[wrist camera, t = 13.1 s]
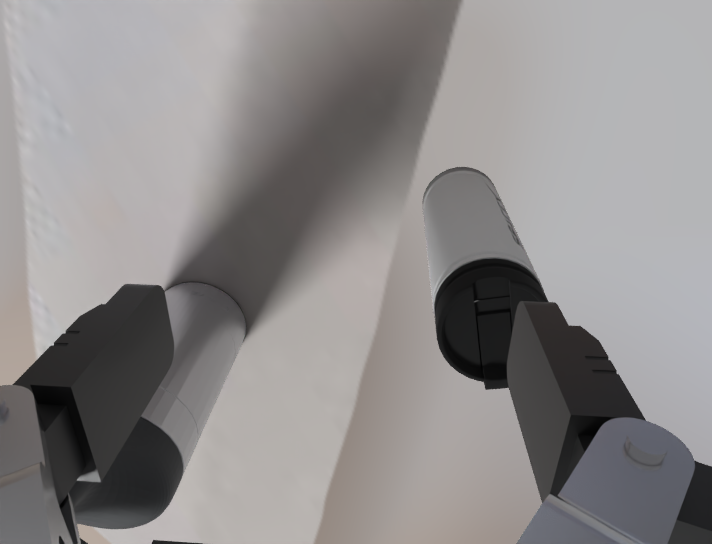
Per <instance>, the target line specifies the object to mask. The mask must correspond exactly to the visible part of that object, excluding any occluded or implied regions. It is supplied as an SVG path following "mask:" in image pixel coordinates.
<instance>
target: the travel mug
mask: <svg viewBox="0 0 712 544" xmlns="http://www.w3.org/2000/svg"><path fill="white" fill-rule="evenodd" d="M423 214H424V224H425V235H426V245H427V255H428V264H429V274H430V284H431V294H432V304H433V313H434V317H435V324H436V333H437V340H438V344H439V348H440V350H441V352H442V354H443V356H444V358H445V359H446V361H447V362H448V363H449V364H450V366H452V367H453V368H454V369H455V370H457V371H458V372H459V373H461V374H463V375H465V376H466V377H468V378H471V379H474V380H477V381H482V382H484V384H485V389H486V390H487V389H500V388H509V386H508V381H507V359H508V353H509V348H510V342H511V337H512V331H513V326H514V320H515V314H516V309H517V306H518V304H519V302H520V301H529V302H548V300H547V298H546V296H545V293H544V290H543V288H542V285H541V283H540V280H539V279H538V277H537V274H536V272H535V270H534V268H533V266H532V264H531V262H530V260H529V258H528V255H527V253H526V251H525V249H524V247H523V245H522V243H521V241H520V239H519V237H518V234H517V232H516V230H515V228H514V226H513V224H512V222H511V220H510V218H509V216H508V214H507V212H506V210H505V207H504V205H503V203H502V201H501V199H500V197H499V195H498V193H497V191H496V189H495V186H494V184H493V183H492V182H491V180H490V179H489V178H488V177H487V176H486V175H485V174H484V173H482V172H480V171H478V170H476V169H473V168H467V167H456V168H452V169H449V170H446V171H444V172H442V173H440V174H439V175H438V176H436V177H435V178H434V179H433V180H432V181H431V182H430V184H429V185H428V187H427V188H426V191H425V193H424V197H423Z"/></svg>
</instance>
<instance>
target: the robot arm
mask: <svg viewBox="0 0 712 544" xmlns="http://www.w3.org/2000/svg"><path fill="white" fill-rule="evenodd" d="M245 334H246V322H245V318H244V315H243V313H242V311H241V309H240V308H239V306H238V305H237V303H236V302H235V301H234V300H233V299H232V298H231V297H230V296H229V295H227V294H226V293H224V292H223V291H221V290H220V289H218V288H215V287H213V286H211V285H207V284H203V283H194V282H189V283H181V284H178V285H175V286H173V287H171V288H170V289H168V290H167V291H165V292H164V290H163V288H162V287H161V286H159V285H140V284H125V285H124V286H122V287H121V288H120V289H119V291H118V292H117V293H116V294H115V295H114V296H113V297H112V298H111V299H110V300H109V301H108V302H107V303H106V304H101V305H99V306H97V307H95V308H94V309H92V310H90V311H88V312H87V313H85V314H83V315H81V316H80V317H79V318H78V319H77V320H76V321H75V322H74V323H73V324H72V325H71V326H70V327H69V328H68V329H67V330H66V333H65V334H62V335H61V336H60V337H59V338H58V339H57V340H56V341H55V342H54V346H50V347H49V348H48V349H47V350H46V351H45V352H44V353H43V354H42V355H41V356H40V357H39V358H38V359H37V360H36V361H35V363H34V364H33V365H32V366H31V367H30V368H29V369H28V370H27V371H26V372H25V373H24V374H23V375H22V376H21V377H20V378H19V379H18V380H17V381H16V382H15V383H14V384H13V385H3V386H0V544H88V543H86V542H85V541H83V540H82V539H81V538H80V537H79V532H78V527H77V524H83V525H87V526H92V527H98V528H106V529H127V528H134V527H138V526H141V525H144V524H147V523H149V522H150V521H152V520H154V519H156V518H157V517H158V516H160V515H161V514H162V513H163V512H164V510H165V509H166V508H167V507H168V505H169V504H170V502H171V500H172V498H173V496H174V494H175V492H176V490H177V488H178V485H179V483H180V481H181V478H182V476H183V473H184V471H185V469H186V467H187V465H188V462H189V460H190V458H191V456H192V453H193V451H194V449H195V447H196V445H197V442H198V440H199V437H200V435H201V433H202V431H203V429H204V426H205V424H206V422H207V420H208V418H209V415H210V413H211V411H212V409H213V407H214V404H215V402H216V400H217V398H218V395H219V393H220V391H221V389H222V387H223V384H224V382H225V380H226V378H227V376H228V373H229V371H230V369H231V367H232V365H233V363H234V361H235V358H236V356H237V354H238V352H239V349H240V347H241V345H242V343H243V340H244V337H245ZM507 381H508V386H509V390H510V393H511V397H512V400H513V404H514V407H515V411H516V414H517V418H518V421H519V424H520V428H521V431H522V435H523V438H524V441H525V445H526V449H527V452H528V455H529V459H530V462H531V466H532V469H533V473H534V476H535V479H536V483H537V486H538V490H539V493H540V497H541V500H542V505H541V506H540V508H539V509H538V511H537V513H536V514H535V516H534V517H533V519H532V520H531V522H530V523H529V525H528V526H527V528H526V530H525V531H524V533H523V534H522V536H521V537H520V539H519V540H518V542H517V544H712V467H711V466H708V465H704V464H702V463H699V462H696V461H694V459H693V456H692V454H691V452H690V451H689V449H688V448H687V447H686V445H685V444H684V443H683V442H682V441H681V440H680V439H678V438H677V437H676V436H675V435H673V434H672V433H671V432H669V431H667V430H666V429H664V428H662V427H660V426H658V425H656V424H653V423H651V422H648V421H646V420H645V418H644V417H643V415H642V413H641V411H640V410H639V408H638V406H637V405H636V403H635V401H634V399H633V398H632V396H631V394H630V393H629V391H628V389H627V388H626V386H625V384H624V383H623V381H622V379H621V378H620V376H619V375H618V374H617V373H616V369H615V367H614V366H613V364H612V362H611V361H610V360H608V355H607V354H606V352H605V350H604V349H603V347H602V345H601V344H600V342H599V340H597V339H596V338H595V337H593V336H592V335H591V334H589V333H588V332H587V331H586V330H585V329H583V328H582V327H581V326H568V324H567V322H566V320H565V318H564V316H563V314H562V312H561V310H560V309H559V307H558V305H557V304H556V303H553V302H529V301H520V302H519V304H518V306H517V309H516V314H515V320H514V326H513V331H512V337H511V342H510V348H509V353H508V359H507ZM152 544H201V543H187V542H172V541H158V540H153V542H152Z"/></svg>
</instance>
